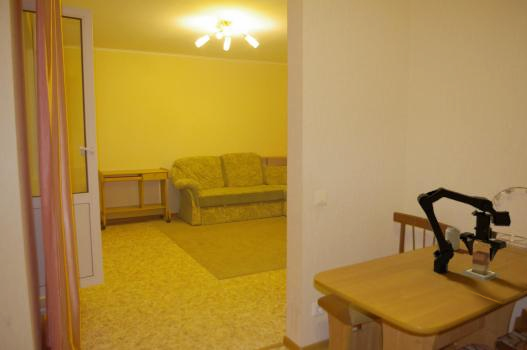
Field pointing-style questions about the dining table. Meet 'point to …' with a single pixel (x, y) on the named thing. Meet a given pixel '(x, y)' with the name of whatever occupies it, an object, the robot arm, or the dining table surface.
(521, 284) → the dining table surface
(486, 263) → the top block
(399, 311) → the dining table surface
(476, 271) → the base block
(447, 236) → the can
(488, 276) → the board
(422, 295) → the dining table surface
